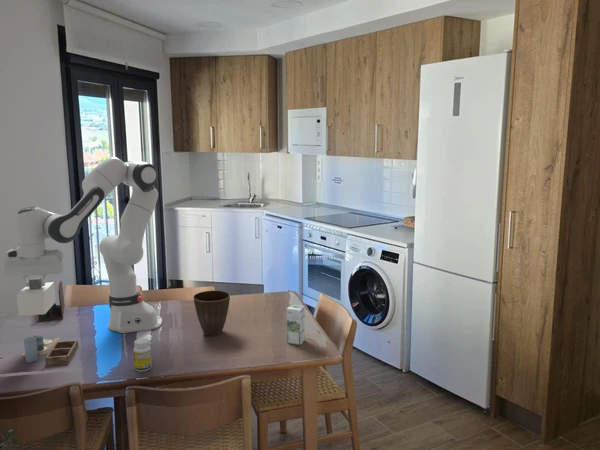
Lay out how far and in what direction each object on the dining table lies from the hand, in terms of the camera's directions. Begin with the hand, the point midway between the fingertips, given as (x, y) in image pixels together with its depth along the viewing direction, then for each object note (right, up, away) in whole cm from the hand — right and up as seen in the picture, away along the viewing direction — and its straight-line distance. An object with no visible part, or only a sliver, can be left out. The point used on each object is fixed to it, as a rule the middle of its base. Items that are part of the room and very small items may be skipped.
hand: (35, 286), depth 197 cm
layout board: (0, -25, +4) cm, 25 cm away
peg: (+3, -27, -9) cm, 28 cm away
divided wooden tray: (+12, -26, -5) cm, 29 cm away
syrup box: (+98, -23, +9) cm, 102 cm away
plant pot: (+64, -22, +20) cm, 70 cm away
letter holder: (-15, -19, +45) cm, 51 cm away
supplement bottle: (+45, -27, -14) cm, 54 cm away
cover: (0, -9, +1) cm, 9 cm away
